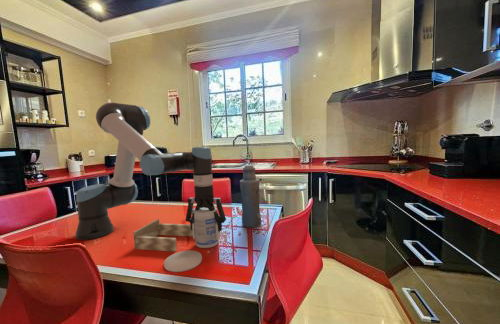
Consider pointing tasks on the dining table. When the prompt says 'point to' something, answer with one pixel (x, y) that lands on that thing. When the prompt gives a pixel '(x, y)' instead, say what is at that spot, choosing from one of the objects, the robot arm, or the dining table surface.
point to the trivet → (182, 261)
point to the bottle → (250, 198)
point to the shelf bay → (149, 241)
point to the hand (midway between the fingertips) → (206, 238)
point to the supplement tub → (205, 228)
